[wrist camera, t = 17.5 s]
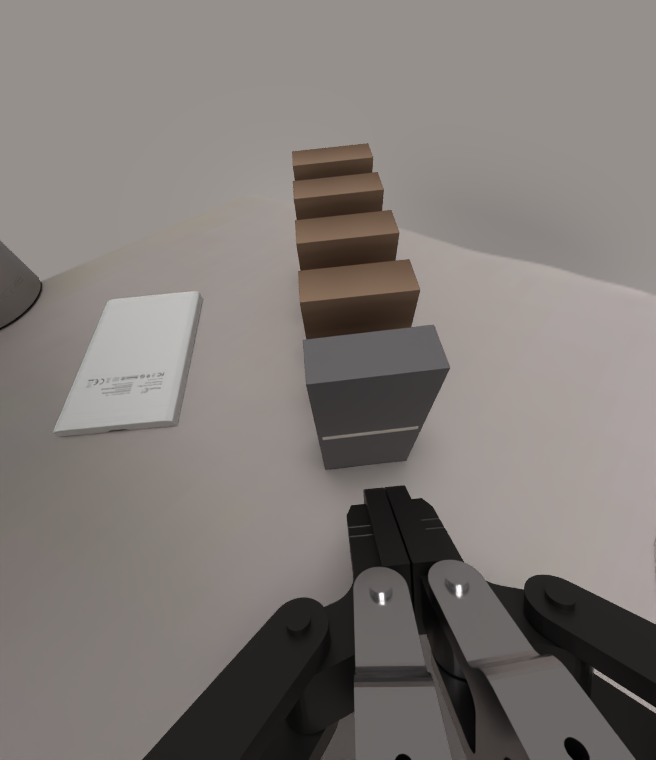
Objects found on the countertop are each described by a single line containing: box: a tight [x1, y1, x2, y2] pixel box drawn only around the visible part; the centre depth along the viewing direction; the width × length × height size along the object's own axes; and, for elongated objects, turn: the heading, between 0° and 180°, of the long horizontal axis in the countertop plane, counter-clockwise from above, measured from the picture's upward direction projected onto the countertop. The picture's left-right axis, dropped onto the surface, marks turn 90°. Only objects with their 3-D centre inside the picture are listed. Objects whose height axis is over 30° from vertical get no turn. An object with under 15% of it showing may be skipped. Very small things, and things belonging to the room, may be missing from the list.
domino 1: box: [292, 143, 373, 181], centre depth 24 cm, size 2×5×10 cm, turn 95°
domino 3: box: [295, 210, 399, 271], centre depth 20 cm, size 2×5×10 cm, turn 95°
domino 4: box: [298, 259, 420, 339], centre depth 18 cm, size 2×5×10 cm, turn 95°
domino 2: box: [293, 172, 384, 220], centre depth 22 cm, size 2×5×10 cm, turn 95°
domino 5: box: [303, 325, 450, 470], centre depth 16 cm, size 2×5×10 cm, turn 96°
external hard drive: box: [53, 291, 203, 437], centre depth 25 cm, size 2×8×12 cm
